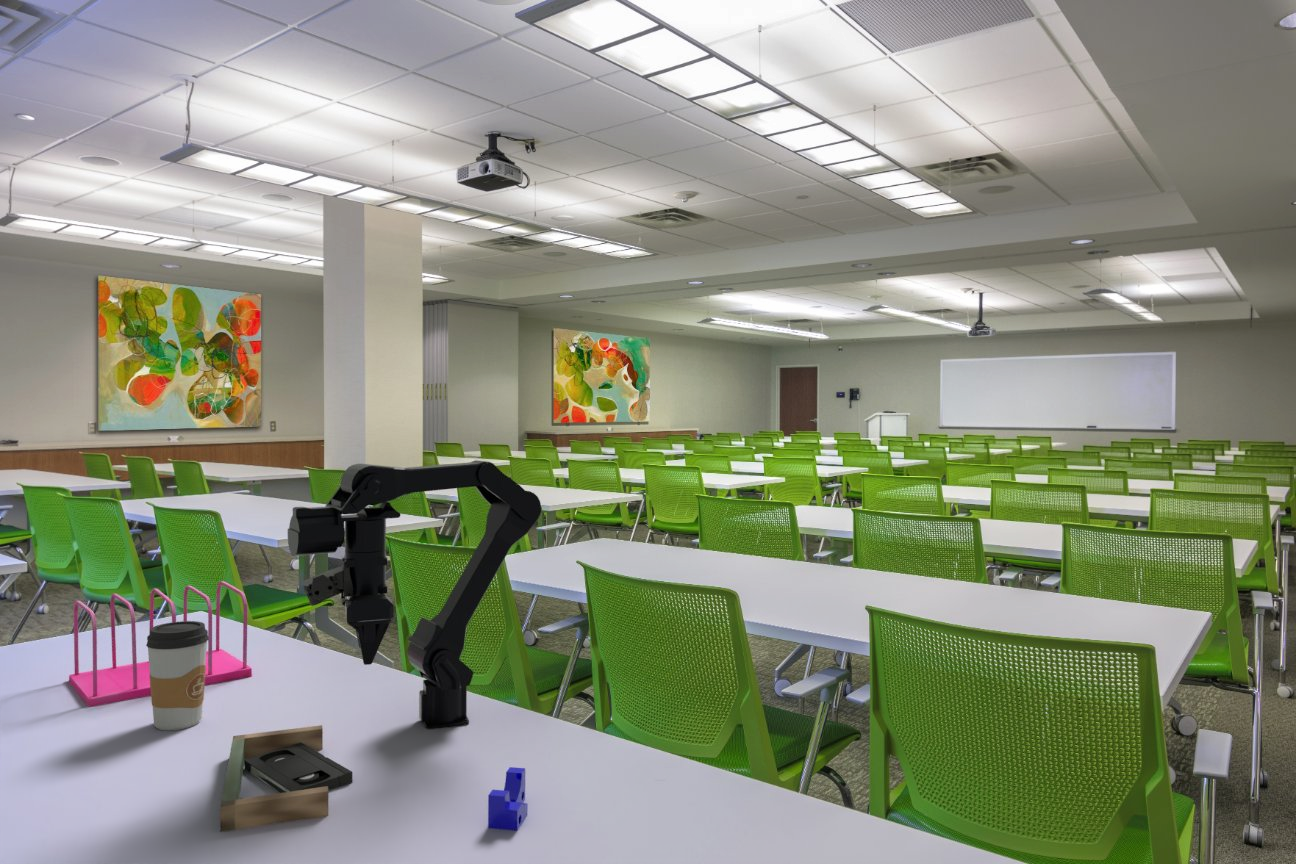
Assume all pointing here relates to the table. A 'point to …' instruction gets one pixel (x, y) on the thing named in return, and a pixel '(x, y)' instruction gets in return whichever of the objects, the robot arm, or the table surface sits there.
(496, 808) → the cable holder
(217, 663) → the file sorter
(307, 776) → the vhs tape
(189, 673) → the coffee cup
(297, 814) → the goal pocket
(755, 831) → the table surface
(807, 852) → the table surface
